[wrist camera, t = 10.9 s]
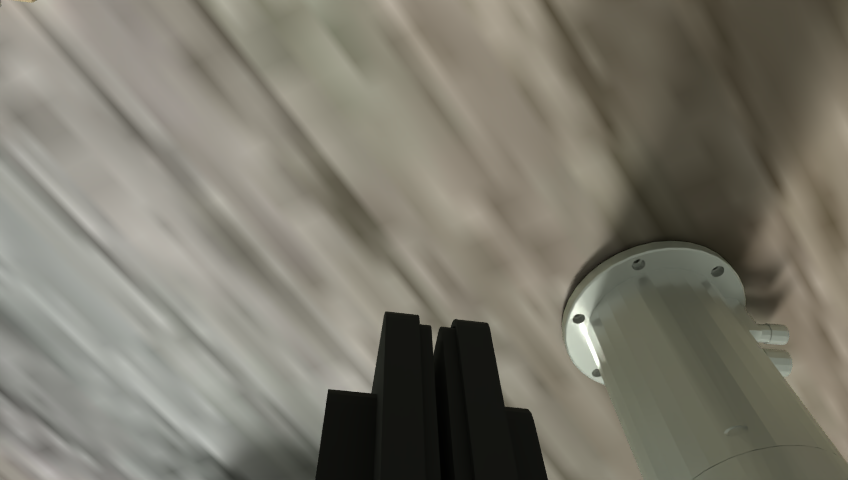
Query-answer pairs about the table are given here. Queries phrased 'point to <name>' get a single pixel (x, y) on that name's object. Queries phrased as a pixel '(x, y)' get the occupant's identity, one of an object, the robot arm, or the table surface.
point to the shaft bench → (22, 0)
